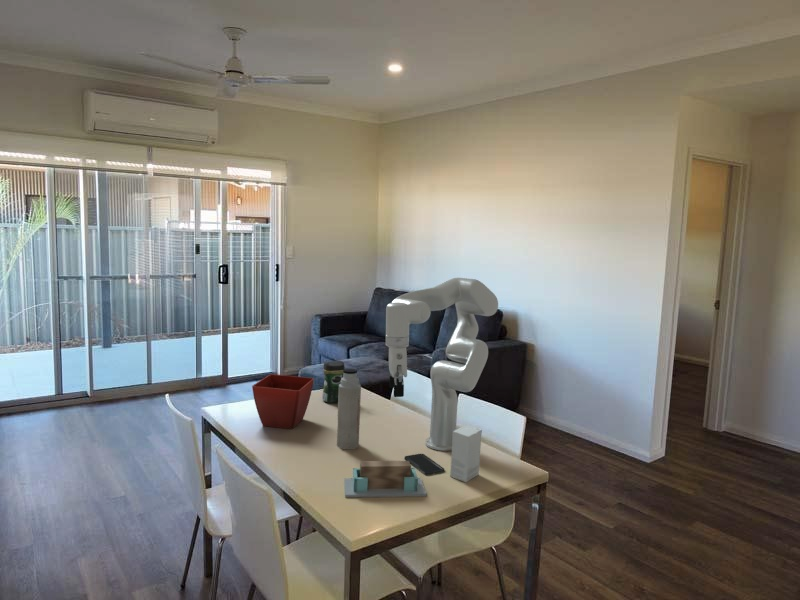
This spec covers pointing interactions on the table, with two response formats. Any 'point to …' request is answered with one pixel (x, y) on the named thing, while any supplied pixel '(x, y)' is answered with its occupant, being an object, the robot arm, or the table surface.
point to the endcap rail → (359, 489)
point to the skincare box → (465, 453)
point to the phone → (424, 464)
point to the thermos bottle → (349, 410)
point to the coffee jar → (332, 380)
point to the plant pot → (282, 399)
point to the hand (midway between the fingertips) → (396, 391)
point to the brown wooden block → (385, 473)
